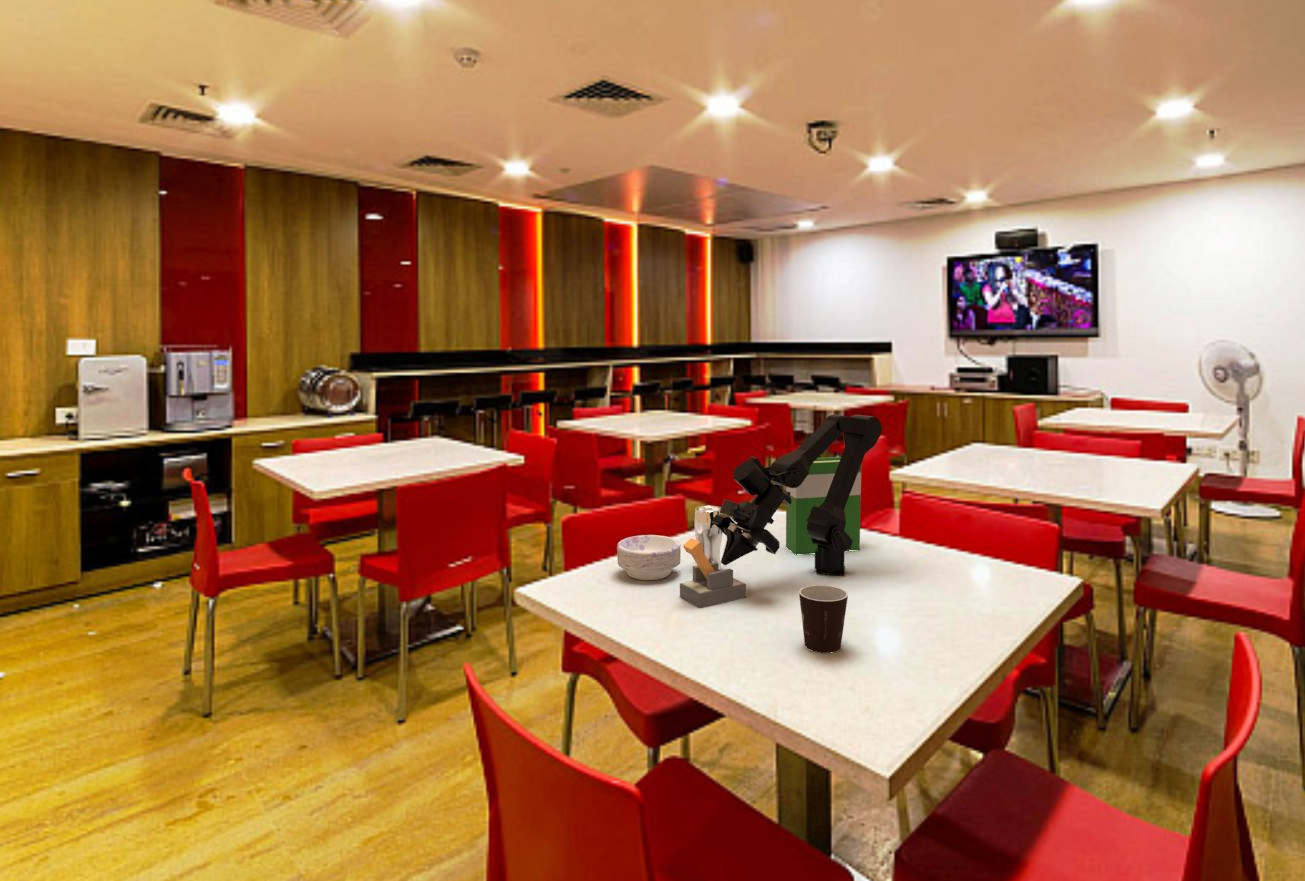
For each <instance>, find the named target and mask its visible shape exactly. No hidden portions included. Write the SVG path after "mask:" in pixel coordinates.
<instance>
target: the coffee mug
mask: <svg viewBox="0 0 1305 881" xmlns="http://www.w3.org/2000/svg"><path fill="white" fill-rule="evenodd" d="M798 595H799V596H798V597H799V603H800V604H799V606H800V614H801V624H802V632H803V640H804V646H806V647H807V648H806V647H805V648H806V649H807V650H809V649H810V650H809V651H811V650H812V651H811V652H813V653H814V652H815V653H819V652H820V654H832V653H831V652H833V653H836V652H838V651H840V650H841V647H842V640H843V634H844V633H843V632H844V626H845V619H846V612H847V604H848V596H849V593H848V592H847V591H846V589H843V588H841V587H837V586H833V585H827V584H814V585H813V584H812V585H807V586H803V587H801V588H800V589H799V590H798Z"/></svg>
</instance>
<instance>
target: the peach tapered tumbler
mask: <svg viewBox="0 0 1305 881" xmlns="http://www.w3.org/2000/svg"><path fill="white" fill-rule="evenodd" d="M721 507H722V506H718V505H717V506H716V505H701V506H697V507H695V509H694V513H695V514H694V536H695V540H697V541H700V542H701V544H702V545H703V547H704V549H703V550H702V551H703V552H704V554H705V556H706V557H707V559H708V561H709V562H710V563H713V562H716V563H719V571H720V570H722V568H723V566H722V563H721V546H722V541H723V534H724V533H723V532H722V531H721V530H720V529H719V528H718V527H717V526H715V525H714V524H713V523H712V520H713V518H714V517H715V516H716V515H717V514H722V513H720V510H721ZM696 566H698V565H697V564H696Z"/></svg>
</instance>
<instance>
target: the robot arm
mask: <svg viewBox="0 0 1305 881" xmlns="http://www.w3.org/2000/svg"><path fill="white" fill-rule="evenodd" d="M882 432H883V425H882V423H881V421H880V419H879V418H878V416H877V417H876V416H872V415H871V416H870V415H863V414H853V415H851V416H846V415H841V414H834V413H833V414H830V415H828V416H827V417H826V418H825V421H824V422H823V423H822V424H821V425H819V427H817V429H816V430H815V431H813V433H811V435H809V436H808V437H807V439H805V440H804V441H803V442H802V443H801V444H800V445H799V446H798V448H796V449H794V450H793V451H792V452H788V453H786V454H783V455H782V456H780V457H779V458H778V459H776V460H775V461H773V462H772V463H771V464H770V465H769V466H766V467H765V466H764V465H763V464H762V463H761V461H760V459H759V458H758V457H755V456H750V457H749V459H747V460H745V461H743V462H741V463H740V464H739V465H736V467H735V469H734V470H733V473H732V479H733V480H734V481H735V482H736V483H737V484H738V485H740V487H741V488H742V489H743V490H744V491H745V492H746V493H747V494H748V495H750V496H753V498H752V499H751V501H750V502H748V501H745V500H742V501H741V502H740V503H738V502H735V501H732V500H731V501H730V500H728V499H723V502H722V505H721V506H720V507H721V510H720V513H722V514H717V515H716V516H715V517H714V518H713V520H712V523H713V524H714V525H715V526H717V527H718V528H719V529H720V530H721V531H722V532H723V534H724V536H726V543H725V547H724V550H723V554H722V556H721V557H722V558H721V559H720V561H721V565H723V566H728V565H730V564H731V563H732V562H734V561H736V560H738V559H740V558H742V557H744V556H746V555H748V554H750V553H752V552H754V551H755V552H757V551H758V548H757V546H758V545H759V543H760V544H763V546H764V547H765V551H766V552H767V553H769V554H773V555H776V553H777V552H778V551H779V549H780V547H781V546H780V544H781V543H780V541H779V539H777V538H776V536H774V534H772V532H770V531H769V530H768V529H766V526H767V525H768V524H770V525H772V524H774V522H775V520H774V519H773V516H774V515H775V513H776V512H777V510H778V509H779V508H780V506H781V505H782V503H783V504H786V503H787V504H791V503H792V501H791V497H790V492H788V491H786V490H785V489H783V488H782V487H785V488H786V487H789V488H797V487H799V486H800V485H801V484H802V483H803V481H804V480H805V478H806V477H807V476H808V474H809V471H810V466H811V465H812V464H813V462H814V461H815V460H816V459H817V458H820V457H821V456H822V454H824V452H825V451H826V450H828V449H829V447H831V446H832V444H834V443H835V442H836V441H837V440H838V438H840V437H841V436H842V437H843V438H842V439H843V443H844V448H843V451H842V454H841V456H840V457H841V459H840V462H839V464H838V467H837V469H836V472H835V475H834V477H833V480H832V483H831V485H830V488H829V490H828V493H827V496H826V498H825V501H824V503H823V504H821V505H820V506H819V507H816V506H813V507H812V509H811V513H810V516H809V518H808V519H807V520H806V521H807V522H808V524H807V530H808V534H809V535H810V538H811V541H812V543H813V544H817V545H818V547H817V550H815V554H814V569H815V570H816V574H817V575H829V576H830V575H832V576H845V573H846V572H845V571H846V566H845V555H846V552H845V551H847V549H851V546H852V542H853V540H852V539H851V538H850V537H849V535H848V534H847V533H846V532H845V531H844V529H845V525H846V519H845V512H844V509H845V506H846V503H847V501H848V498H849V495H850V493H851V490H852V487H853V485H854V482H855V479H856V477H857V474H858V471H859V469H860V466H861V467H862V464H863V460H864V458H865V455H867V453H868V452H870V450H872V449H873V448H874V447H875V446H876V445H877V442H878V441H879V439H880V438H881V435H882ZM781 486H782V487H781Z"/></svg>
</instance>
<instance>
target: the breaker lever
mask: <svg viewBox="0 0 1305 881" xmlns="http://www.w3.org/2000/svg"><path fill="white" fill-rule="evenodd" d="M682 547H683V549H684V550H685V551H686V553H688V554H690V555H691V557H692V559H693V560H694V562H695V563H696V566H697V565H698V567H699V568H700V570H701V572H702V573H703V575H704V577H705V578H706V580H707V573H710V572H715V571H714V569H713V567H712V566H711V564H710V562H709V561H708V559H707V557H706V556H705V554H704V552H703V551H702V550H703V549H704V547H703V545H702V544H701V542H700V541H697V540H696V538H693V537H691V538H690V539H688V540H687V541H686V542H685V543H684V544H682Z"/></svg>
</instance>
